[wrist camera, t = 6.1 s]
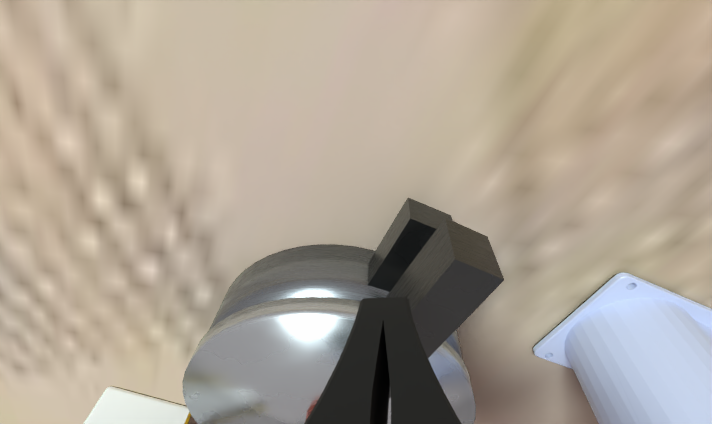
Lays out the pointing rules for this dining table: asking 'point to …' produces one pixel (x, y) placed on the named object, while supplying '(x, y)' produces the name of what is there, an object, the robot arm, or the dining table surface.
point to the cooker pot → (338, 267)
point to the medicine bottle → (135, 409)
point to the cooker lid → (337, 339)
